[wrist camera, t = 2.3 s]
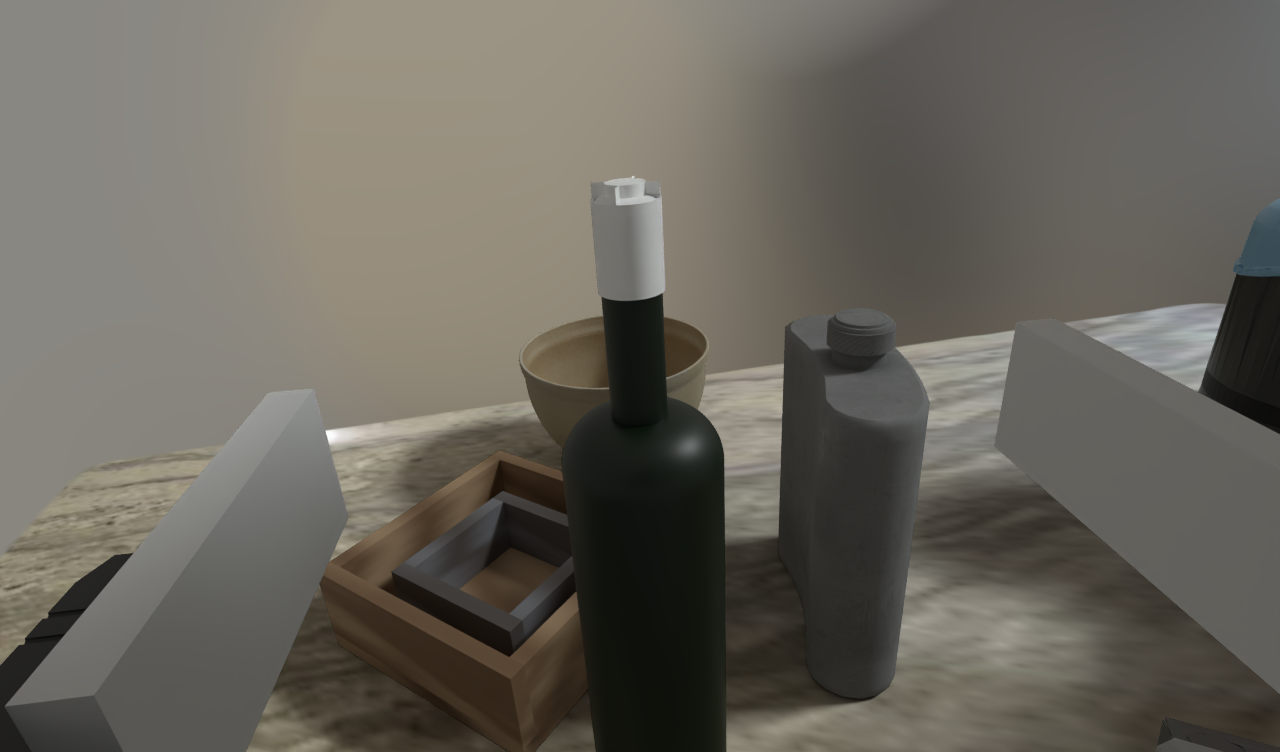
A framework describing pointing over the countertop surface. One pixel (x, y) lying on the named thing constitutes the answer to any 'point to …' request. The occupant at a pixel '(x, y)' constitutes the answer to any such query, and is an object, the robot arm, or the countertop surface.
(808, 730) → the countertop surface
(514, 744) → the crate
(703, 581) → the wine bottle
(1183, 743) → the electrical switch
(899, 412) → the flask
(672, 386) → the planter bowl
